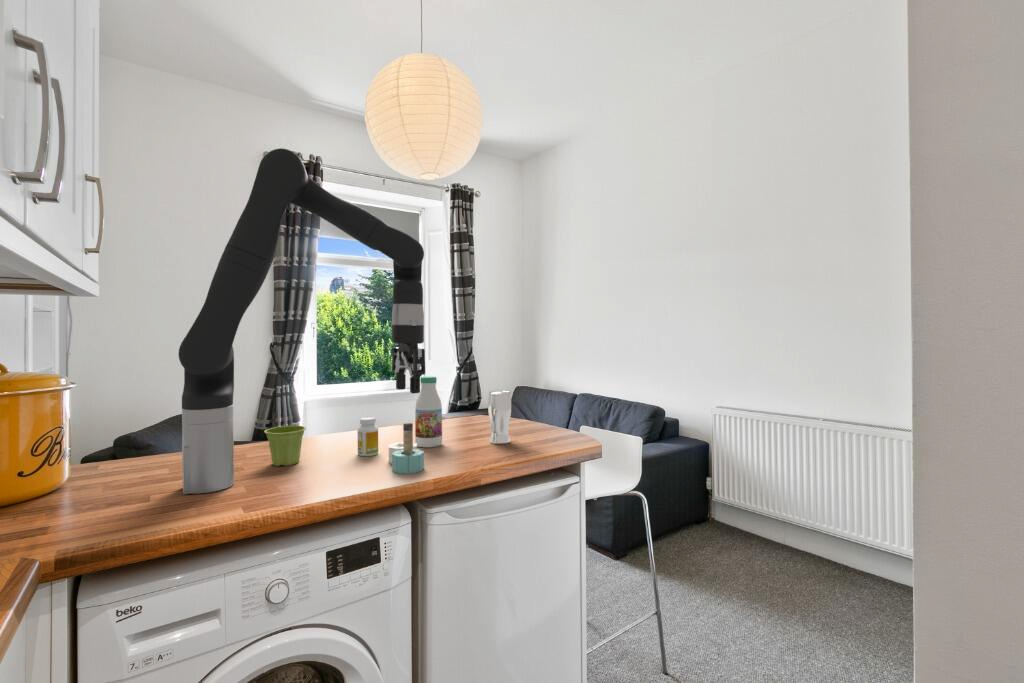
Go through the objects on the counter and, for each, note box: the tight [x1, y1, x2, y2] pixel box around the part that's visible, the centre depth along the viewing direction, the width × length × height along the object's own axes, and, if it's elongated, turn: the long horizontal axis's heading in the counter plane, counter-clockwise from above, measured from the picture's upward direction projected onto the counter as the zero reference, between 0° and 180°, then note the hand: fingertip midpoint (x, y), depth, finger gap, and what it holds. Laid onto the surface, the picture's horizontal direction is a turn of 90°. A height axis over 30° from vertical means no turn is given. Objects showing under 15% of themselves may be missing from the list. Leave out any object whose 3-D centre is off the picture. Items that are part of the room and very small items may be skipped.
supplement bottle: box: [357, 416, 379, 457], centre depth 130 cm, size 5×5×10 cm
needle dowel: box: [402, 422, 414, 455], centre depth 116 cm, size 2×2×11 cm
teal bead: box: [391, 448, 425, 474], centre depth 116 cm, size 7×7×4 cm
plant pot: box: [263, 425, 306, 467], centre depth 121 cm, size 9×9×9 cm
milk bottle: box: [414, 375, 443, 448], centre depth 141 cm, size 8×8×20 cm
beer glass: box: [487, 390, 512, 445], centre depth 144 cm, size 7×7×15 cm
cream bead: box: [388, 441, 418, 465], centre depth 124 cm, size 7×7×4 cm
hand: (407, 391), depth 116 cm, fingers open, 8 cm apart
